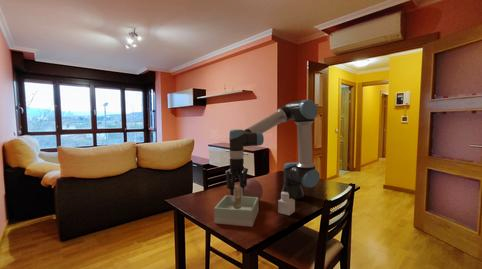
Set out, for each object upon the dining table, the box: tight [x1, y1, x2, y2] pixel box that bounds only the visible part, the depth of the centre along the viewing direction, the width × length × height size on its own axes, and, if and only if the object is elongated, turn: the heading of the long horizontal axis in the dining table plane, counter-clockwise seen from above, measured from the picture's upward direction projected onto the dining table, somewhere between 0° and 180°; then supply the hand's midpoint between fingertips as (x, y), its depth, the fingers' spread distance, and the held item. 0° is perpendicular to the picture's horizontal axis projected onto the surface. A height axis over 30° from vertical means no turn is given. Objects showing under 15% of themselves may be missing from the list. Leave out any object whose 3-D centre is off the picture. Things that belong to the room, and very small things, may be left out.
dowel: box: [234, 184, 241, 209], centre depth 124 cm, size 4×4×12 cm
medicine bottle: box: [277, 190, 296, 216], centre depth 129 cm, size 7×7×12 cm
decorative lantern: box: [243, 178, 264, 202], centre depth 143 cm, size 15×20×15 cm
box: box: [213, 194, 260, 228], centre depth 124 cm, size 20×20×8 cm
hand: (237, 199), depth 124 cm, fingers closed on dowel, 4 cm apart
